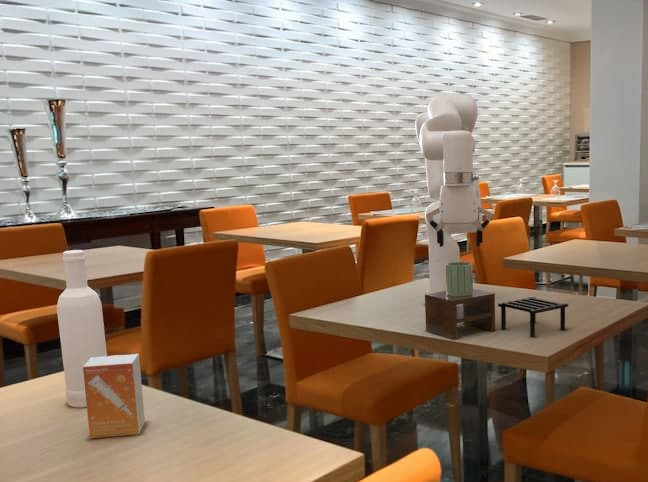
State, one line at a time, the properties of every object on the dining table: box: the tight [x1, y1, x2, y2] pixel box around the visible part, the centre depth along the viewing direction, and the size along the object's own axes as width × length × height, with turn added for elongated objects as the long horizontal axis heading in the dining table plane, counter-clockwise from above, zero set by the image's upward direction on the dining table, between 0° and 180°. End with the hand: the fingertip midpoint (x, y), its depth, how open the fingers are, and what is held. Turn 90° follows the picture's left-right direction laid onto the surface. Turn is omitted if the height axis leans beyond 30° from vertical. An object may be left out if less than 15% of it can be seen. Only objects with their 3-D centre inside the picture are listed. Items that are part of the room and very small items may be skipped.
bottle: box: [56, 249, 108, 409], centre depth 146 cm, size 8×8×30 cm
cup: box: [446, 261, 474, 296], centre depth 197 cm, size 7×7×8 cm
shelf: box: [424, 288, 496, 340], centre depth 198 cm, size 12×14×10 cm
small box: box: [83, 353, 146, 439], centre depth 131 cm, size 8×6×13 cm
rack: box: [497, 296, 569, 338], centre depth 198 cm, size 13×13×7 cm
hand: (460, 246), depth 195 cm, fingers open, 9 cm apart
